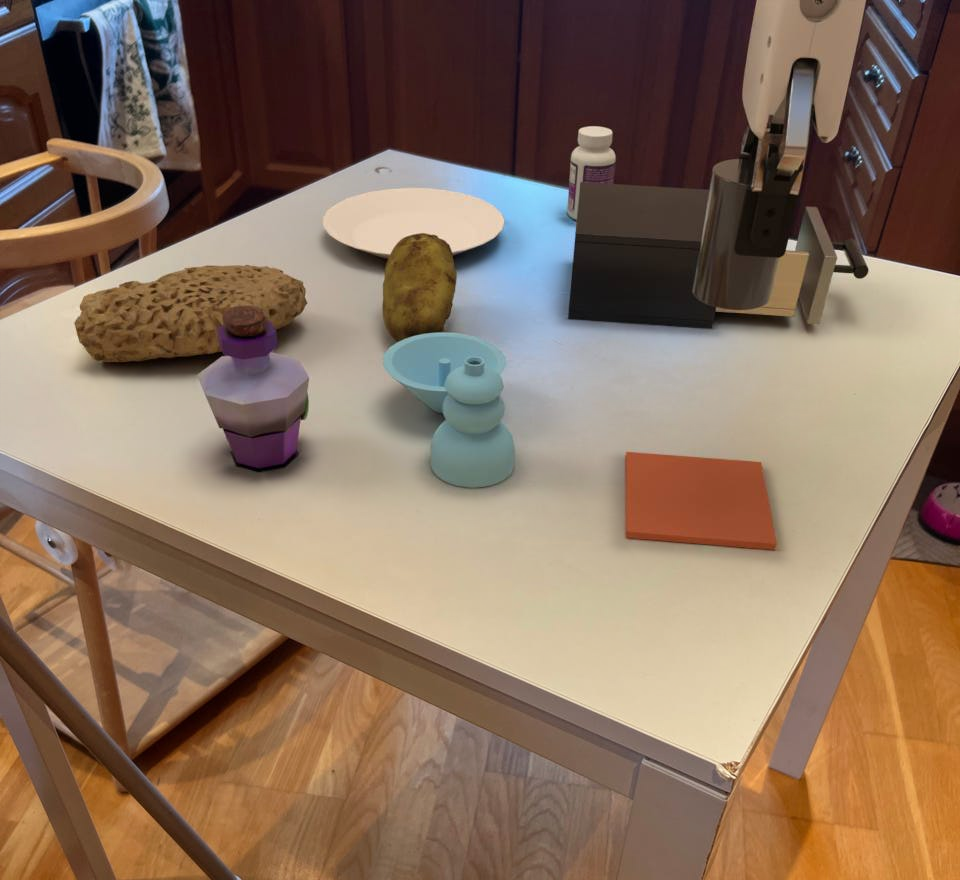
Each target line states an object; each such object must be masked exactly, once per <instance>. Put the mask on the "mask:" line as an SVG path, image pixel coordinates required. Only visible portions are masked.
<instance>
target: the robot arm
mask: <svg viewBox="0 0 960 880" xmlns="http://www.w3.org/2000/svg"><path fill="white" fill-rule="evenodd" d="M866 1H867V0H756V2H755V7H754V13H753V18H752V24H751V30H750V35H749V41H748V46H747V47H748V48H747V54H746V61H745V67H744V74H743V82H742V93H741V94H742V95H741V97H742V105H743V108H744V112H745V116H746V119H747V121H746V125H745V129H744V132H743V137H742V142H741V149H740V154H738V155H737V158H736V159H756V161H755V167H754V173H753V179H752V187H746V190H745V195H744V200H743V205H742V210H741V215H740V220H739V224H738V229H737V234H736V239H735V244H734V249H735V253H736V254H738V255H744V256H759V257H774V258H780V257H782V256H783V255H784V254H785V252H786V250H787V247H788V242H789V239H790V235H791V230H792V227H793V222H794V219H795V214H796V210H797V206H798V201H799V197H800V190H801V185H802V180H803V175H804V174H803V173H804V168H805V163H806V157H807V151H808V145H809V140H810V135H811V128H812V126H813V129H814V131H815V133H816V135H817V137H818V138H819V140H820V142H821V143H822V144H823V143H824V144H828V143H830V142H831V141H833V140H834V139H835V138H836V136H837V135H838V132H839V130H840V129H839V128H840V124H841V120H842V115H843V111H844V106H845V101H846V97H847V93H848V87H849V83H850V78H851V73H852V69H853V64H854V61H855V56H856V51H857V46H858V41H859V38H860V32H861V26H862V21H863V17H864V12H865V6H866ZM767 161H768V163H767Z"/></svg>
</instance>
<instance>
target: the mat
mask: <svg viewBox="0 0 960 880" xmlns="http://www.w3.org/2000/svg"><path fill="white" fill-rule="evenodd" d="M624 461H625V462H624V465H625V467H624V468H625V469H624V470H625V538H627V539H635V540H636V539H637V540H638V539H639V540H649V541H650V540H651V541H660V542H661V541H662V542H674V543H685V544H686V543H687V544H699V545H711V546H721V547H722V546H724V547H735V548H747V549H757V550H758V549H759V550H772V551H775V550H776V548H777V545H778V544H777V543H778V542H777V538H776V533H775V528H774V523H773V521H774V520H773V517H772V511H771V507H770V501H769V496H768V495H769V494H768V491H767V485H766V480H765V474H764V469H763V463H762V461H753V460H740V459H739V460H738V459H728V458H715V457H713V458H712V457H702V456H701V457H700V456H687V455H676V454H675V455H674V454H664V453H663V454H661V453H660V454H659V453H650V452H637V451H636V452H635V451H626V452H625V460H624Z"/></svg>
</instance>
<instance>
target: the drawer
mask: <svg viewBox="0 0 960 880" xmlns="http://www.w3.org/2000/svg"><path fill="white" fill-rule="evenodd" d="M836 251H843V253H844V255H845V257H846V260H847V262H848V264H847V265H846V264H837V260H838V256H837V253H836ZM834 273H836V274H837V273H839V274H853V277H855V279H858V280H860V279H861V280H862V279H864V278H866V277H867V276H868V274H869V267H868V264H867V263H866V260H865V258H864V255H863V253H862V252H861V249H860V247H859V245H858V242H857V241H856V239H854V238H846V239H845V240H844V241H843V242H842V241H841V242H840V241H839V242H838V241H831V238H830V236H829V233H828V231H827V228H826V226H825V223H824V221H823V217H822V216H821V214H820V210H819V209H818V207H817V206H805V209H804V211H803V216H802V220H801V224H800V227H799V232H798V236H797V241H796V245H795V249H794V250H792V249H791V250H790V249H786V252H785V254H784V255H783V256H782V257H780V260H779V264H778V268H777V273H776V277H775V281H774V286H773V290H772V294H771V299H770V301H769V302H768V303H767V304H766V305H764V306H762V307H759V308H756V309H750V310H729V309H723V308H718V307H716V312H717V313H718V312H719V313H730V314H731V313H732V314H745V315H746V314H747V315H762V316H776V317H777V316H779V317H789V318H790V317H792V318H794V316H795V312H796V308H797V304H798V300H799V302H800V306H801V309H802V312H803V315H804V318H805V322H806V324H807V325H820V322H821V318H822V315H823V311H824V308H825V304H826V300H827V297H828V293H829V289H830V285H831V282H832V278H833V274H834ZM716 312H715V313H716Z"/></svg>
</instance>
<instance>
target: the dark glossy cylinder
mask: <svg viewBox="0 0 960 880" xmlns="http://www.w3.org/2000/svg"><path fill="white" fill-rule="evenodd" d="M755 161H756V159H737V158H734V159H726V160H723V161H720V162H718V163H716V164H715V165H714V166H713V167H712V171H711V176H710V183H709V188H708V190H709V193H708V199H707V205H706V211H705V217H704V222H703V228H702V234H701V240H700V246H699V252H698V257H697V263H696V269H695V275H694V281H693V286H692V292H693V294H694V296H695V297H696V298H697V299H699V300H700V301H702V302H704V303H706V304H708V305H711V306H714V307H718V308H723V309H729V310H750V309H756V308H759V307H762V306H764V305H766V304H767V303H768V302H769V301H770V299H771V294H772V290H773V286H774V281H775V277H776V273H777V268H778V264H779V260H780V258H774V257H759V256H744V255H738V254H736V253H735V249H734V244H735V239H736V234H737V229H738V224H739V220H740V215H741V210H742V205H743V200H744V195H745V190H746V187H752V179H753V173H754V167H755ZM767 163H768V161H767Z"/></svg>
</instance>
